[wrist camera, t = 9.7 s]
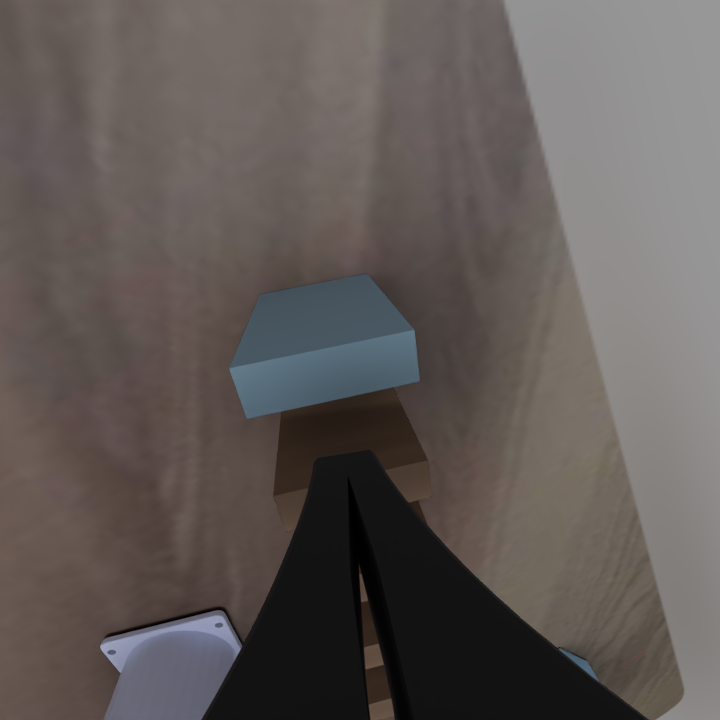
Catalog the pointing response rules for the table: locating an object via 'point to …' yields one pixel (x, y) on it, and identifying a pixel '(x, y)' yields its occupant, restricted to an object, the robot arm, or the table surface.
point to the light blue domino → (322, 346)
